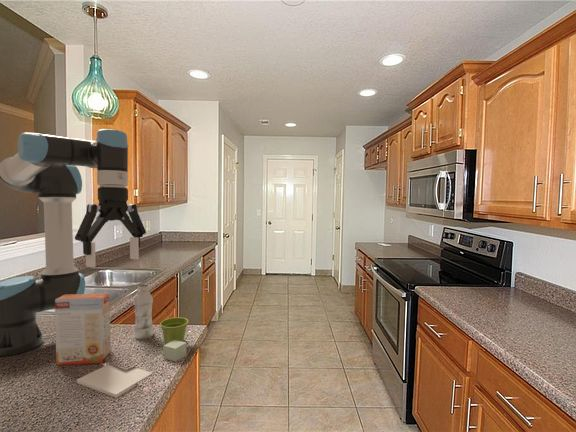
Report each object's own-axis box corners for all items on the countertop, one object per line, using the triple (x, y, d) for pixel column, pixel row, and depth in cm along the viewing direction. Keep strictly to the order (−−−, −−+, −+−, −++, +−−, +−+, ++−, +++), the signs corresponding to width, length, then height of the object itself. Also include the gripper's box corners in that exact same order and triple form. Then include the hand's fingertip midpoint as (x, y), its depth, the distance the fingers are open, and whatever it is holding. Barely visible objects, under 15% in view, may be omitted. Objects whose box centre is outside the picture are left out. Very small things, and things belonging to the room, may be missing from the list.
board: (76, 383, 93) (76, 379, 93) (115, 364, 104) (115, 361, 104) (116, 398, 87) (116, 394, 87) (152, 376, 97) (152, 372, 97)
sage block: (163, 360, 107) (163, 345, 107) (174, 354, 112) (174, 339, 111) (175, 364, 105) (175, 348, 105) (186, 357, 109) (186, 342, 109)
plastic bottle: (157, 338, 124) (157, 285, 123) (140, 345, 118) (140, 289, 117) (146, 334, 127) (146, 282, 126) (130, 340, 122) (129, 286, 121)
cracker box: (111, 355, 110) (110, 292, 109) (103, 364, 104) (102, 297, 103) (66, 356, 109) (65, 293, 108) (55, 365, 103) (54, 298, 102)
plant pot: (193, 346, 118) (193, 322, 117) (168, 355, 111) (168, 329, 110) (179, 338, 124) (179, 315, 124) (155, 346, 117) (155, 322, 117)
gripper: (77, 184, 80) (78, 272, 81) (157, 188, 103) (158, 257, 104) (57, 184, 83) (59, 269, 84) (140, 188, 106) (140, 255, 107)
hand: (114, 262), depth 94 cm, fingers open, 13 cm apart
